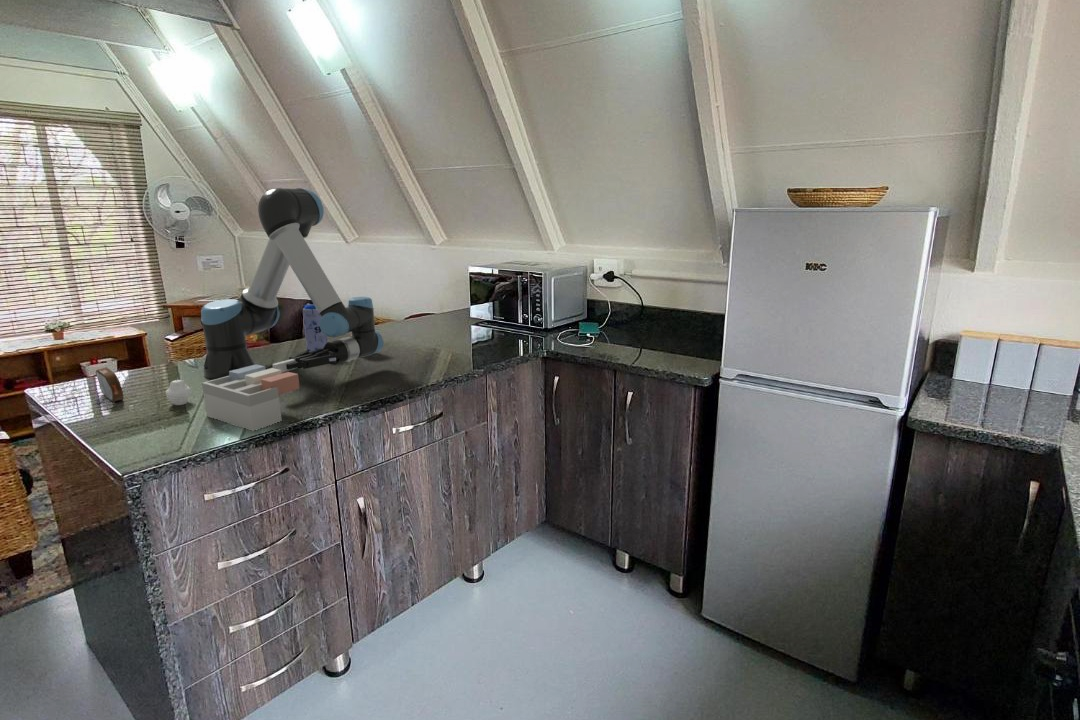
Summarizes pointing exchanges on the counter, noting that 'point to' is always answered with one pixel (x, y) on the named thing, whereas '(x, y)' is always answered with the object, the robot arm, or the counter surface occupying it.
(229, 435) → the counter surface
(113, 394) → the tin
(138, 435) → the counter surface
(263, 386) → the terracotta key
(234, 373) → the blue-grey rectangular block
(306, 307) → the aerosol can
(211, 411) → the grey slotted rack
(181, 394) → the muffin
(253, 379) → the ivory key
